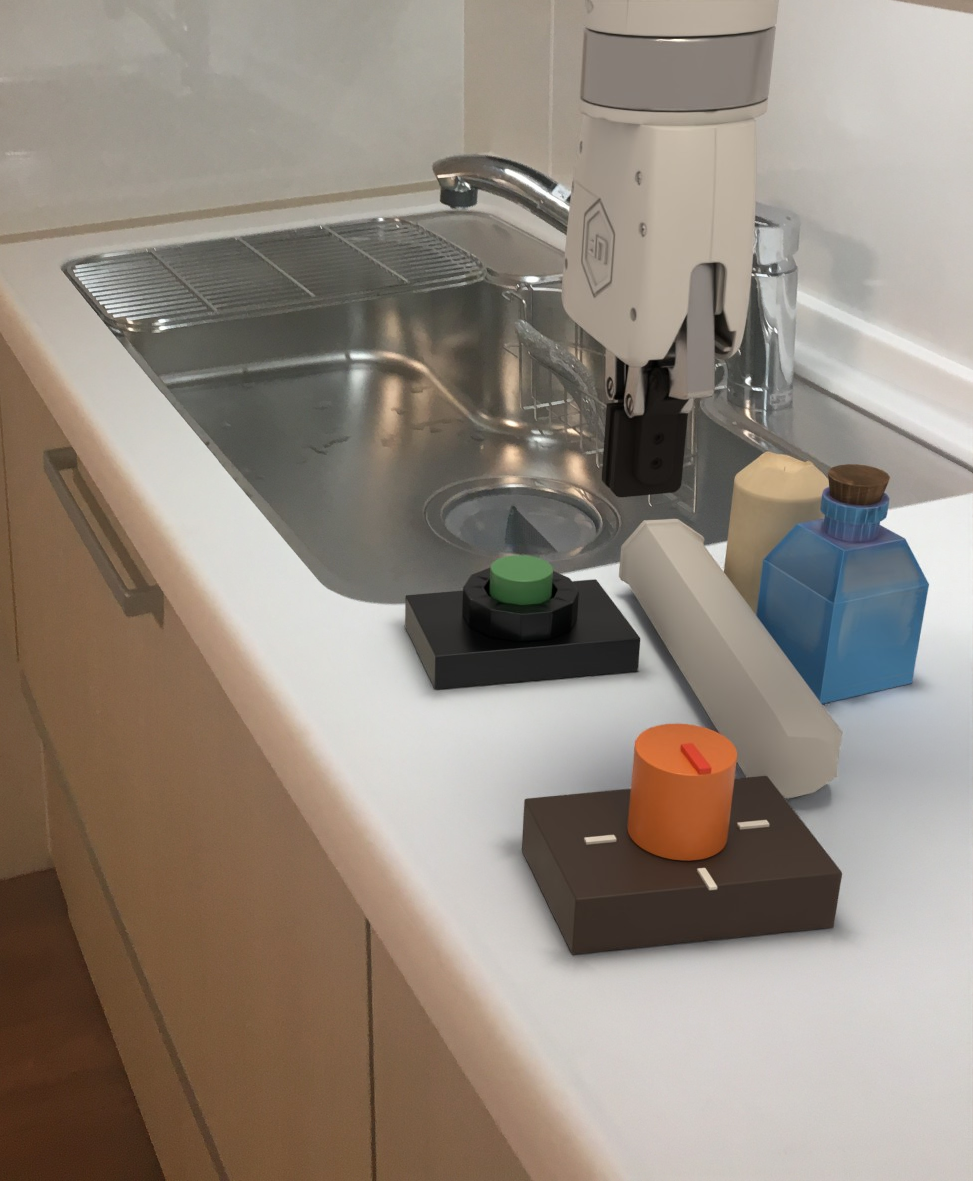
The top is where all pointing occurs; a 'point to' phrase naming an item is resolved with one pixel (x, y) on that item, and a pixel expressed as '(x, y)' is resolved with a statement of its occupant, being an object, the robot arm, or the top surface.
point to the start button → (521, 580)
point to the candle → (768, 514)
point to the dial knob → (681, 791)
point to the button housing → (519, 634)
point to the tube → (731, 659)
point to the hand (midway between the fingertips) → (640, 487)
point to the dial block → (677, 873)
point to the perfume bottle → (846, 592)
